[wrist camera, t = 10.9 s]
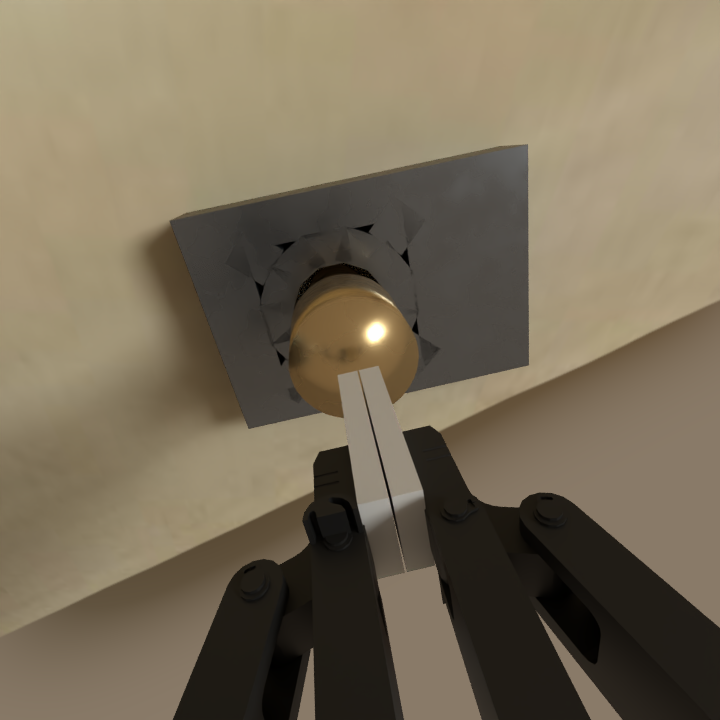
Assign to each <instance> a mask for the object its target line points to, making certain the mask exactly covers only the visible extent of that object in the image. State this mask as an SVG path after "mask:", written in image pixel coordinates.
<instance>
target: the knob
mask: <svg viewBox="0 0 720 720" xmlns="http://www.w3.org/2000/svg"><path fill="white" fill-rule="evenodd" d="M418 359H419V353H418V345H417V341H416V338H415V336H414V333H413V331H412V330H411V328H410V326H409V325H408V323H407V321H406V320H405V318H404V317H403V315H402V313H401V312H400V310H399V309H398V307H397V305H396V304H395V302H394V301H393V299H392V298H391V296H390V295H389V294H388V292H387V291H386V290H385V289H384V288H383V287H382V286H380V285H379V284H378V283H376V282H375V281H373V280H371V279H369V278H366V277H363V276H360V275H359V274H358V273H357V272H356V271H355V270H354V269H352V268H350V267H348V266H344V265H331V266H327V267H325V268H323V269H321V270H320V271H319V272H318V273H317V274H316V275H315V276H314V277H313V279H312V280H311V283H310V285H309V289H308V290H307V291H306V292H305V293H304V294H303V295H302V296H301V298H300V299H299V301H298V302H297V304H296V306H295V309H294V312H293V315H292V321H291V335H290V348H289V362H288V363H289V372H290V377H291V380H292V382H293V385H294V386H295V388H296V390H297V392H298V393H299V394H300V396H301V397H302V398H303V399H304V400H305V401H306V402H307V403H308V404H310V405H311V406H312V407H314V408H315V409H317V410H319V411H321V412H323V413H325V414H328V415H332V416H335V417H341V418H344V414H343V408H342V401H341V395H340V388H339V382H338V375H340V374H344V373H349V372H353V371H357V372H358V376H359V380H360V384H361V388H362V392H363V387H362V382H361V378H360V373H359V370H362V369H366V368H371V367H375V366H379V369H380V371H381V374H382V377H383V380H384V383H385V385H386V388H387V391H388V394H389V397H390V399H391V402H392V404H394V403H395V402H396V401H397V400H399V399H400V398H401V397H402V396H403V394H404V393H405V392H406V391H407V389H408V388H409V387H410V385H411V383H412V381H413V379H414V377H415V374H416V371H417V367H418ZM363 396H364V392H363ZM364 400H365V396H364ZM365 404H366V401H365ZM366 408H367V406H366ZM367 412H368V410H367ZM368 416H369V415H368Z"/></svg>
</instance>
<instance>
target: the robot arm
mask: <svg viewBox="0 0 720 720" xmlns="http://www.w3.org/2000/svg"><path fill="white" fill-rule="evenodd" d="M359 373H360V378H361V382H362V387H363V392H364V396H365V400H364V396H363V392H362V388H361V384H360V380H359V376H358V372H357V371H353V372H349V373H344V374H340V375H338V382H339V388H340V395H341V401H342V408H343V414H344V421H345V427H346V434H347V440H348V445H347V446H343V447H339V448H334V449H330V450H326V451H321V452H319V454H318V456H317V458H316V460H315V462H314V464H313V470H314V502H312V503H311V504H310V505H309V507H308V508H307V509H306V511H305V512H304V516H303V524H304V527H305V530H306V533H307V536H308V538H309V541H310V543H309V544H308V546H307V547H306V548H305V549H304V550H303V551H302V552H301V553H299V554H297V555H296V556H295V557H293V558H291V559H289V560H287V561H286V562H284V563H282V564H280V565H278V564H276V563H275V562H274V561H272V560H266V559H262V560H257V561H253V562H251V563H249V564H247V565H245V566H244V567H242V568H241V569H240V570H239V571H238V572H237V573H236V574H235V575H234V576H233V578H232V579H231V581H230V582H229V584H228V586H227V588H226V591H225V593H224V596H223V598H222V601H221V603H220V606H219V608H218V610H217V613H216V615H215V618H214V620H213V623H212V625H211V627H210V630H209V632H208V635H207V637H206V640H205V642H204V645H203V647H202V650H201V652H200V654H199V657H198V660H197V662H196V664H195V667H194V669H193V672H192V674H191V676H190V679H189V682H188V684H187V686H186V689H185V691H184V693H183V696H182V698H181V701H180V703H179V706H178V708H177V711H176V713H175V716H174V718H173V720H297V717H298V712H299V707H300V702H301V697H302V692H303V687H304V682H305V677H306V672H307V666H308V661H309V656H310V649H311V648H313V649H314V687H315V720H404V718H403V712H402V707H401V702H400V696H399V691H398V685H397V680H396V674H395V669H394V663H393V658H392V652H391V647H390V642H389V636H388V631H387V625H386V620H385V615H384V609H383V603H382V599H381V595H380V591H379V587H378V581H377V579H380V578H384V577H388V576H392V575H396V574H401V573H404V567H403V562H402V557H401V553H400V548H399V544H398V539H397V535H396V529H397V533H398V537H399V541H400V545H401V549H402V553H403V557H404V561H405V565H406V569H407V572H409V571H413V570H417V569H421V568H426V567H430V566H434V565H435V564H436V567H437V570H438V574H439V581H440V587H441V594H442V600H443V604H445V603H446V606H447V609H448V612H449V615H450V619H451V622H452V625H453V628H454V631H455V635H456V638H457V641H458V644H459V647H460V651H461V654H462V657H463V660H464V664H465V667H466V670H467V673H468V676H469V680H470V683H471V686H472V689H473V693H474V695H475V699H476V702H477V705H478V709H479V712H480V715H481V718H482V720H591V719H590V717H589V715H588V713H587V712H586V709H585V707H584V705H583V704H582V701H581V699H580V697H579V695H578V693H577V691H576V690H575V688H574V685H573V684H572V682H571V680H570V678H569V676H568V674H567V672H566V670H565V668H564V666H563V664H562V662H561V660H560V658H559V656H558V654H557V652H556V650H555V648H554V646H553V644H552V642H551V640H550V638H549V636H548V634H547V632H546V630H545V628H544V626H543V624H542V622H541V620H540V618H539V616H538V614H539V615H540V616H541V617H542V619H543V620H544V621H545V622H546V624H547V625H548V626H549V628H550V629H551V630H552V631H553V633H554V634H555V635H556V636H557V638H558V639H559V640H560V641H561V642H562V644H563V645H564V646H565V648H566V649H567V650H568V651H569V653H570V654H571V655H572V657H573V658H574V659H575V660H576V662H577V663H578V664H579V665H580V667H581V668H582V669H583V670H584V672H585V673H586V674H587V675H588V677H589V678H590V679H591V680H592V682H593V683H594V684H595V685H596V687H597V688H598V689H599V691H600V692H601V693H602V694H603V696H604V697H605V698H606V699H607V700H608V702H609V703H610V704H611V706H612V707H613V708H614V709H615V711H616V712H617V713H618V714H619V716H620V717H621V718H622V719H623V720H720V628H719V627H718V626H717V625H716V624H714V623H713V622H712V621H711V620H710V619H709V618H707V617H706V616H705V615H704V614H703V613H701V612H700V611H699V610H698V609H697V608H696V607H694V606H693V605H692V604H691V603H690V602H689V601H687V600H686V599H685V598H684V597H683V596H682V595H680V594H679V593H678V592H677V591H676V590H675V589H673V588H672V587H671V586H670V585H669V584H667V583H666V582H665V581H664V580H663V579H662V578H660V577H659V576H658V575H657V574H656V573H654V572H653V571H652V570H651V569H650V568H649V567H647V566H646V565H645V564H644V563H643V562H642V561H640V560H639V559H638V558H637V557H636V556H635V555H633V554H632V553H631V552H630V551H629V550H628V549H626V548H625V547H624V546H623V545H622V544H621V543H619V542H618V541H617V540H616V539H615V538H613V537H612V536H611V535H610V534H609V533H607V532H606V531H605V530H604V529H603V528H602V527H601V526H599V525H598V524H597V523H596V522H595V521H593V520H592V519H591V518H590V517H589V516H588V515H586V514H585V513H584V512H583V511H582V510H581V509H579V508H578V507H577V506H576V505H575V504H573V503H572V502H571V501H569V500H567V499H566V498H564V497H562V496H559V495H556V494H553V493H536V494H533V495H529V496H528V497H527V498H525V499H524V500H523V501H522V503H521V505H520V507H519V508H514V507H498V506H492V505H489V504H485V503H483V502H481V501H480V500H478V499H477V497H475V496H473V495H472V494H471V493H470V491H469V490H468V488H467V486H466V484H465V482H464V480H463V478H462V476H461V474H460V472H459V470H458V468H457V466H456V464H455V462H454V460H453V458H452V456H451V454H450V452H449V449H448V448H447V446H446V443H445V441H444V439H443V437H442V435H441V434H440V433H439V432H438V431H436V430H435V429H434V428H432V427H431V426H426V427H421V428H417V429H412V430H408V431H404V432H402V430H401V427H400V424H399V422H398V419H397V416H396V413H395V410H394V408H393V405H392V402H391V399H390V397H389V394H388V391H387V388H386V385H385V383H384V380H383V377H382V374H381V371H380V369H379V366H375V367H371V368H366V369H362V370H359ZM365 401H366V404H365ZM366 406H367V408H366ZM367 410H368V412H367ZM368 415H369V416H368ZM391 509H392V510H391ZM392 513H393V515H392ZM393 517H394V520H393ZM394 521H395V524H394ZM395 525H396V529H395ZM434 561H435V563H434ZM536 611H537V612H538V614H537V612H536Z"/></svg>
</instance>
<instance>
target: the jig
mask: <svg viewBox="0 0 720 720" xmlns="http://www.w3.org/2000/svg"><path fill="white" fill-rule="evenodd" d="M170 223H171V226H172V228H173V231H174V234H175V236H176V239H177V242H178V244H179V247H180V250H181V252H182V255H183V257H184V260H185V263H186V265H187V268H188V271H189V273H190V276H191V278H192V281H193V284H194V286H195V289H196V292H197V294H198V297H199V299H200V302H201V305H202V307H203V310H204V313H205V315H206V318H207V321H208V323H209V326H210V328H211V331H212V334H213V336H214V339H215V342H216V344H217V347H218V349H219V352H220V355H221V357H222V360H223V363H224V365H225V368H226V370H227V373H228V376H229V378H230V381H231V384H232V386H233V389H234V392H235V394H236V397H237V399H238V402H239V405H240V407H241V410H242V413H243V415H244V418H245V420H246V423H247V426H248V428H249V429H250V428H255V427H259V426H264V425H268V424H272V423H277V422H281V421H286V420H290V419H294V418H299V417H303V416H308V415H312V414H316V413H321V411H319V410H317V409H315V408H314V407H312V406H311V405H310V404H308V403H307V402H306V401H305V400H304V399H303V398H302V397H301V396H300V394H299V393H298V392H297V390H296V388H295V386H294V385H293V382H292V380H291V377H290V372H289V363H288V362H289V348H290V335H291V321H292V315H293V312H294V309H295V306H296V304H297V302H298V301H297V296H298V292H299V289H300V285H301V284H302V283H303V282H304V281H305V280H307V279H308V278H309V277H310V276H311V275H312V274H313V273H314V272H315V271H316V270H317V269H319V268H322V267H326V266H331V265H335V264H340V263H347V264H350V265H353V266H356V267H359V268H362V269H365V270H368V271H369V272H370V273H371V275H372V276H373V277H374V278H375V279H376V283H378V284H379V285H380V286H382V287H383V288H384V289H385V290H386V291H387V292H388V294H389V295H390V296H391V298H392V299H393V301H394V302H395V304H396V305H397V307H398V309H399V310H400V312H401V313H402V315H403V317H404V318H405V320H406V321H407V323H408V325H409V326H410V328H411V330H412V331H413V333H414V336H415V338H416V341H417V345H418V353H419V359H418V367H417V371H416V374H415V377H414V379H413V381H412V383H411V385H410V387H409V388H408V389H407V391H406V392H405V393H409V392H413V391H418V390H422V389H426V388H431V387H435V386H440V385H444V384H448V383H453V382H457V381H462V380H466V379H470V378H475V377H479V376H484V375H488V374H492V373H497V372H501V371H505V370H510V369H514V368H519V367H523V366H527V365H529V305H528V144H527V145H510V146H499V147H494V148H490V149H485V150H480V151H476V152H471V153H466V154H461V155H457V156H452V157H447V158H443V159H438V160H433V161H429V162H424V163H419V164H414V165H410V166H405V167H400V168H396V169H391V170H386V171H382V172H377V173H372V174H368V175H363V176H358V177H353V178H349V179H344V180H339V181H335V182H330V183H325V184H321V185H316V186H311V187H307V188H302V189H297V190H292V191H288V192H283V193H278V194H274V195H269V196H264V197H260V198H255V199H250V200H245V201H241V202H236V203H231V204H227V205H222V206H217V207H213V208H208V209H203V210H199V211H194V212H189V213H185V214H183V215H181V216H179V217H177V218H175V219H173V220H170ZM397 252H398V253H397ZM265 281H266V282H265Z"/></svg>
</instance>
